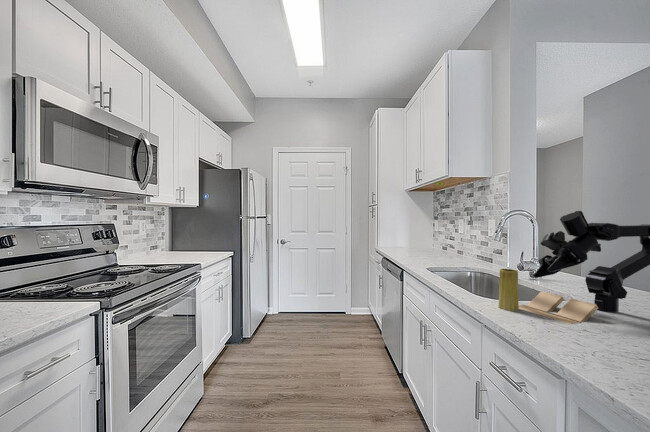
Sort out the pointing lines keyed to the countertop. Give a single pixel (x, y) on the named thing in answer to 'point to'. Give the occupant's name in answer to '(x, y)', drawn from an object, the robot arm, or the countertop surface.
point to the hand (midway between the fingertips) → (541, 273)
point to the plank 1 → (546, 301)
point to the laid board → (549, 315)
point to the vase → (508, 290)
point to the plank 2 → (578, 310)
